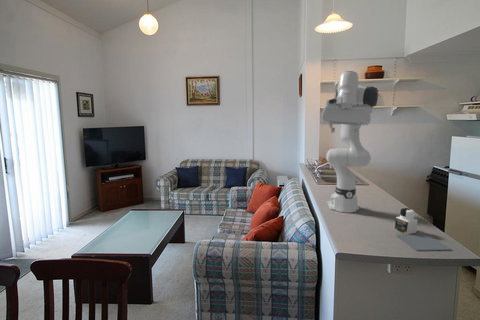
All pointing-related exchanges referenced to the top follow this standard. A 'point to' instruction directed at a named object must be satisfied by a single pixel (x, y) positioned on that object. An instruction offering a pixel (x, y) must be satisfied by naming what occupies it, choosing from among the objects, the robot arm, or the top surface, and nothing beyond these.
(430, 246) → the dark rubber mat
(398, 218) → the medicine bottle
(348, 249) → the top surface
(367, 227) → the top surface
